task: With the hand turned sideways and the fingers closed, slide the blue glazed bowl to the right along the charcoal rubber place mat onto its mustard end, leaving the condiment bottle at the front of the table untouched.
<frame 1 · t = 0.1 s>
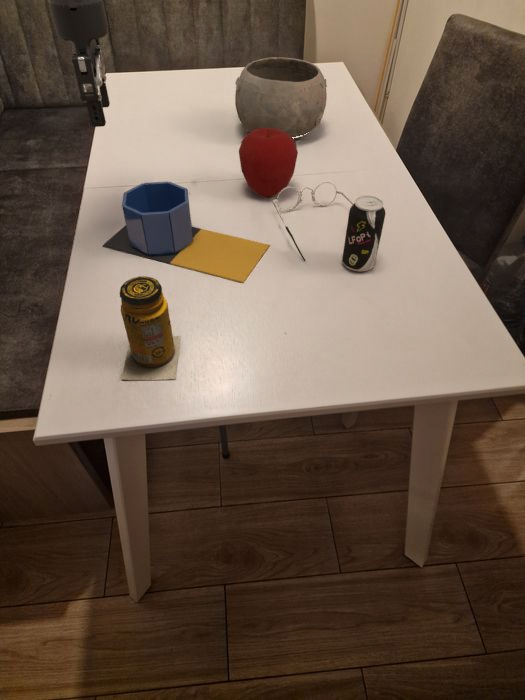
hand: (101, 116, 81), 20 cm above the table, tool pointing down, fingers open, 8 cm apart
place mat: (186, 246, 88), on the table
eyeglasses: (320, 230, 93), on the table
apple: (267, 192, 103), on the table
glazed bowl: (162, 239, 90), resting on place mat
beverage can: (357, 265, 85), on the table
condiment: (152, 358, 69), on the table
bowl: (279, 132, 126), on the table
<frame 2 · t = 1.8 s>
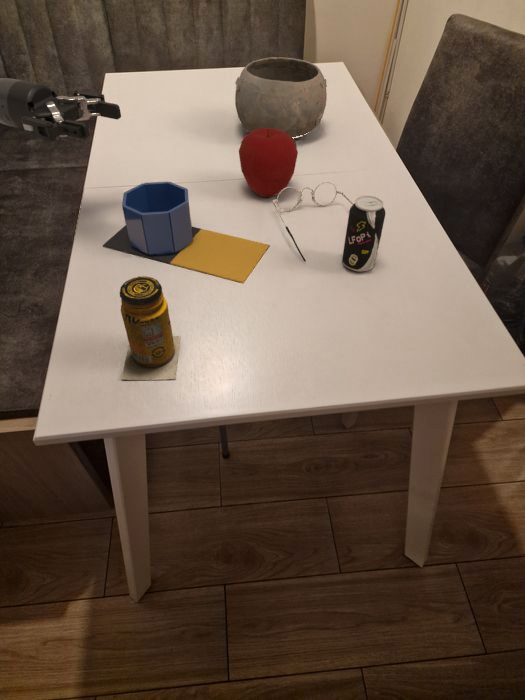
hand: (103, 121, 77), 20 cm above the table, tool horizontal, fingers open, 8 cm apart
nothing on the table moved.
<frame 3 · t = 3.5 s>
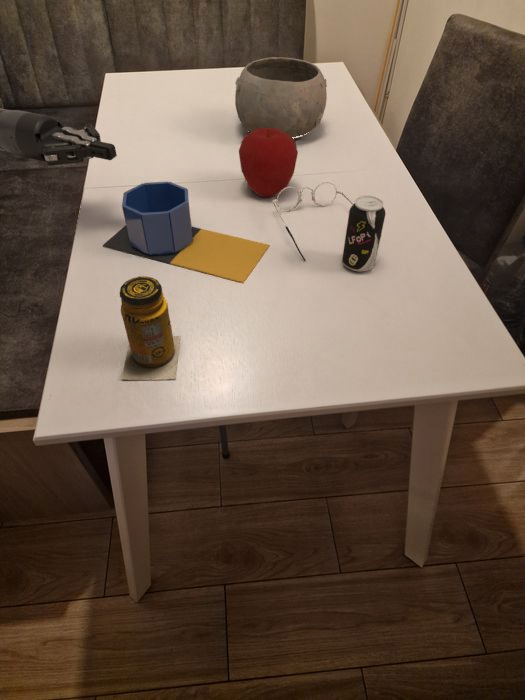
hand: (113, 152, 81), 15 cm above the table, tool horizontal, fingers closed
nothing on the table moved.
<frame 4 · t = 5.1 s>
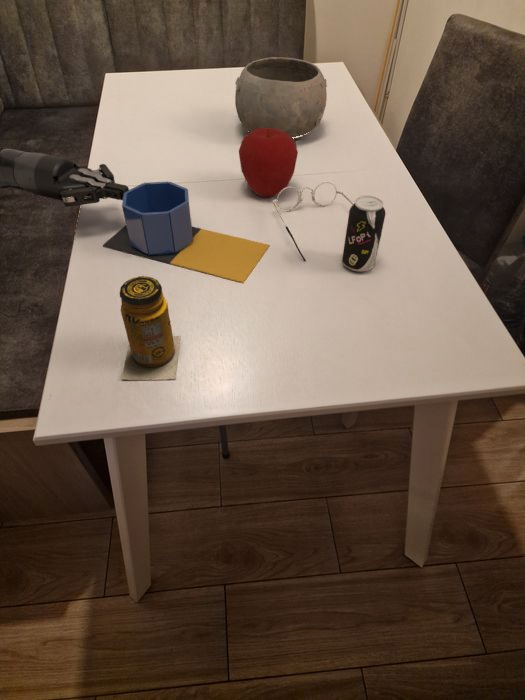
hand: (127, 193, 85), 8 cm above the table, tool horizontal, fingers closed
glazed bowl: (162, 239, 89), resting on place mat, touching gripper
everything else where it was.
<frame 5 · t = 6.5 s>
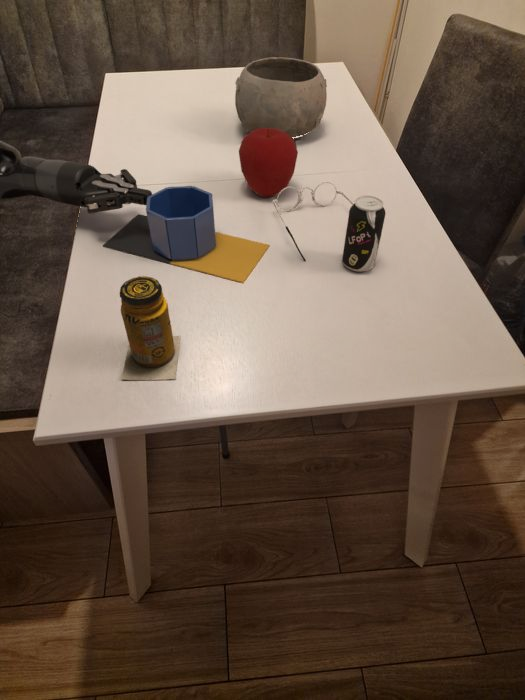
hand: (150, 198, 85), 8 cm above the table, tool horizontal, fingers closed
glazed bowl: (185, 244, 88), resting on place mat, touching gripper
everything else where it was.
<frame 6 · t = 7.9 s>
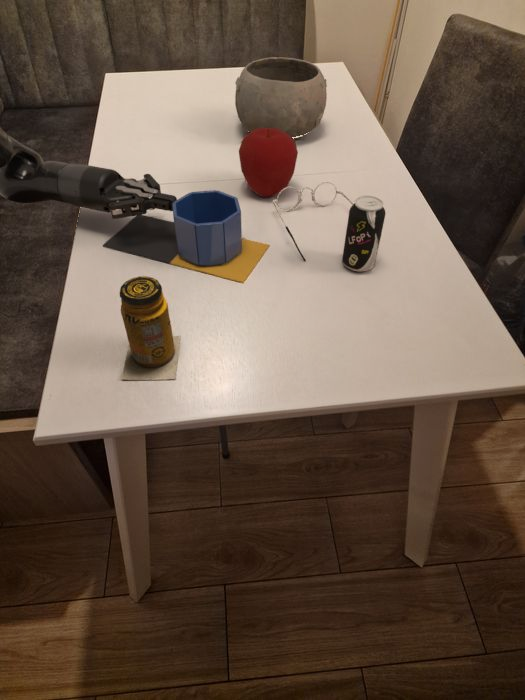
hand: (175, 203, 83), 8 cm above the table, tool horizontal, fingers closed
glazed bowl: (209, 249, 87), resting on place mat, touching gripper
everything else where it was.
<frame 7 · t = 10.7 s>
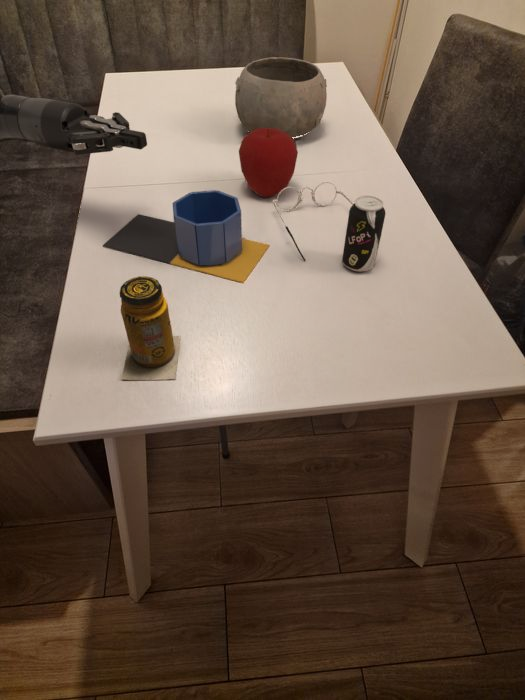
hand: (144, 141, 77), 18 cm above the table, tool horizontal, fingers closed
glazed bowl: (209, 249, 87), resting on place mat
everything else where it was.
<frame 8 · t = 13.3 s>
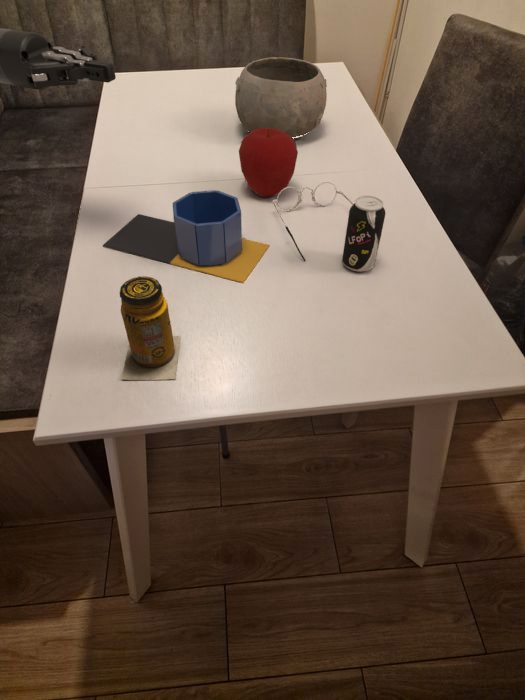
hand: (111, 73, 70), 28 cm above the table, tool horizontal, fingers closed
nothing on the table moved.
at the end: glazed bowl inside the target area on the place mat (0.4 cm from its centre), point 0.3 cm above the place mat's base; glazed bowl tilted 0°; condiment moved 0.2 cm from its start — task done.
